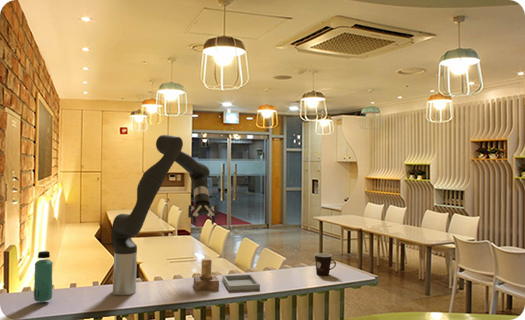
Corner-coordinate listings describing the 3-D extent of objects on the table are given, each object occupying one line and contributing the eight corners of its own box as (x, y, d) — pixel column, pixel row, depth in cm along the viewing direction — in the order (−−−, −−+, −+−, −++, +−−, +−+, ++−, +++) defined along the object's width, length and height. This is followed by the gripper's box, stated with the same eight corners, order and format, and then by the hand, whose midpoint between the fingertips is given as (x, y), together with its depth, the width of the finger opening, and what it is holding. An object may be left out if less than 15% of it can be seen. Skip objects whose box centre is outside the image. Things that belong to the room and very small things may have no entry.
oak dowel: (201, 288, 191) (202, 261, 191) (200, 285, 195) (201, 259, 195) (211, 288, 192) (212, 261, 192) (210, 285, 196) (210, 259, 196)
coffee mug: (311, 272, 224) (312, 253, 224) (326, 271, 226) (327, 252, 226) (321, 278, 213) (321, 258, 213) (336, 277, 215) (337, 257, 215)
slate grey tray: (229, 291, 188) (229, 285, 188) (222, 280, 204) (222, 275, 204) (259, 290, 191) (260, 284, 191) (250, 279, 208) (250, 274, 208)
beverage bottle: (55, 300, 170) (56, 250, 170) (47, 306, 163) (48, 253, 163) (38, 299, 170) (39, 249, 170) (29, 305, 163) (31, 253, 163)
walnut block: (196, 290, 187) (196, 281, 187) (193, 284, 197) (193, 275, 197) (218, 289, 190) (218, 280, 190) (215, 283, 200) (215, 274, 200)
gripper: (188, 192, 212) (189, 219, 201) (216, 192, 215) (219, 218, 204) (186, 202, 217) (188, 228, 206) (214, 202, 221) (217, 228, 210)
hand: (204, 223), depth 205 cm, fingers open, 8 cm apart
